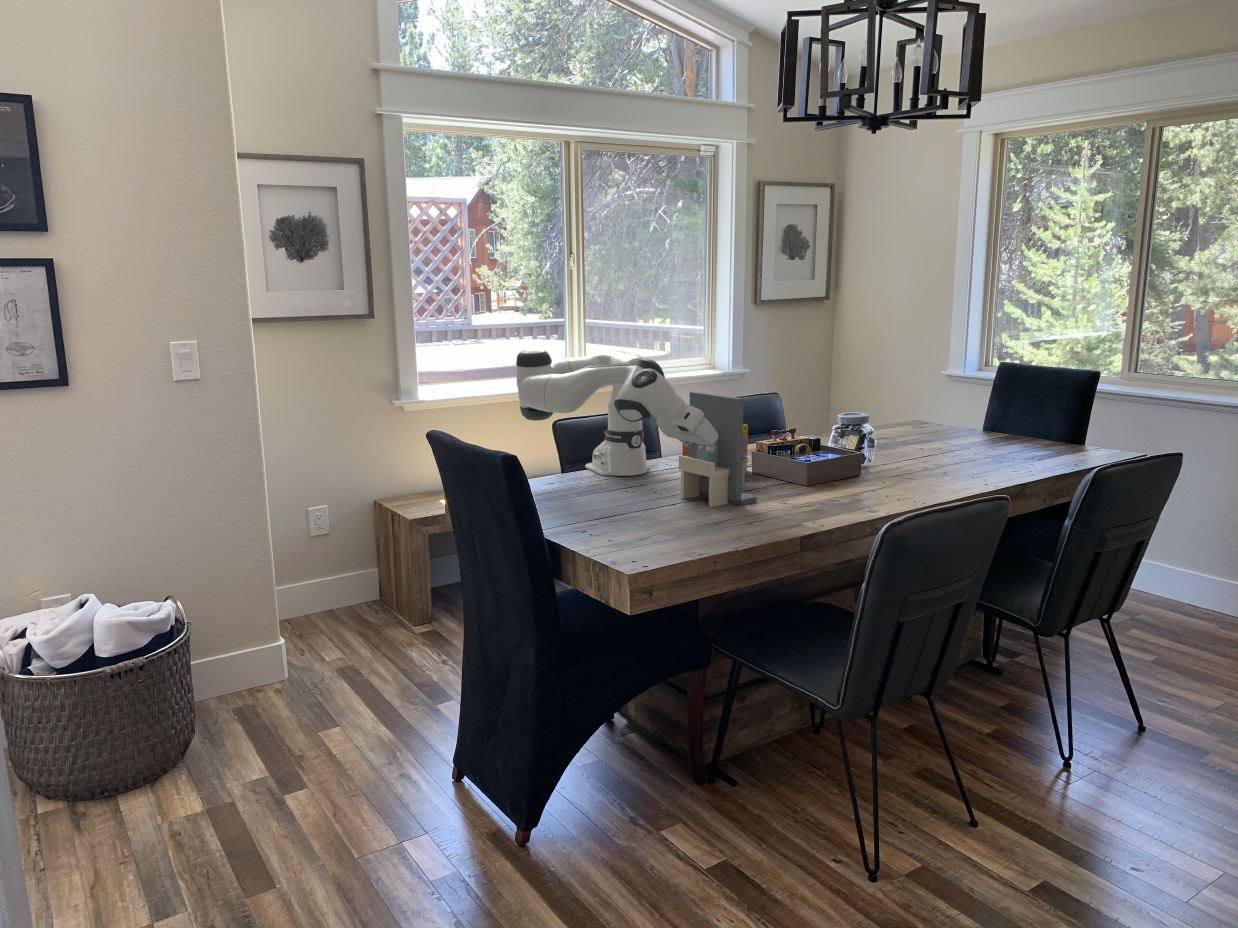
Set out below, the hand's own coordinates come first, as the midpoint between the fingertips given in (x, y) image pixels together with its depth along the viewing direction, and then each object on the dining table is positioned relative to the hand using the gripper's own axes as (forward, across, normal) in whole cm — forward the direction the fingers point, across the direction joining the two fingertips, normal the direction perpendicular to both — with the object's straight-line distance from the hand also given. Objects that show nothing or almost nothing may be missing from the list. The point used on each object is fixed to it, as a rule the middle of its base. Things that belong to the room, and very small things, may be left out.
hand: (701, 447), depth 254 cm
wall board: (+15, 0, -7) cm, 17 cm away
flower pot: (+27, -10, +4) cm, 29 cm away
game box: (+33, -28, +11) cm, 44 cm away
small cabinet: (+6, -1, -2) cm, 6 cm away
